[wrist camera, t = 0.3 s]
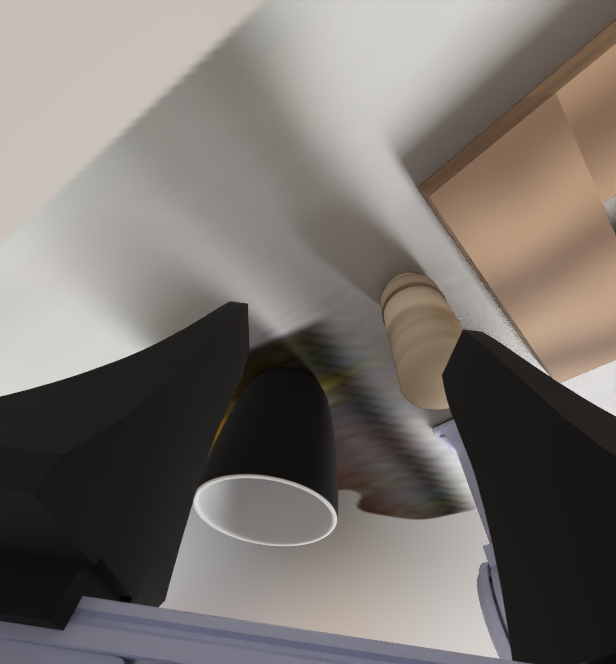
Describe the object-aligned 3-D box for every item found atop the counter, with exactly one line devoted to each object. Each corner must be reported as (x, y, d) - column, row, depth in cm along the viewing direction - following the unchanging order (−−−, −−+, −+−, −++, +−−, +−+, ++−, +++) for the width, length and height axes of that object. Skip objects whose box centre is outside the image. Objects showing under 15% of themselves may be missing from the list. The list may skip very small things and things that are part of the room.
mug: (221, 362, 25) (163, 480, 17) (325, 346, 23) (317, 469, 15) (268, 448, 31) (243, 563, 23) (352, 440, 29) (358, 564, 21)
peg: (445, 294, 20) (504, 386, 13) (398, 325, 21) (427, 420, 14) (414, 254, 18) (461, 332, 11) (366, 290, 20) (382, 377, 13)
